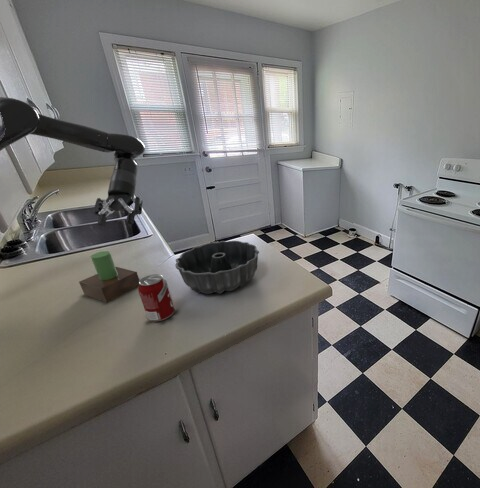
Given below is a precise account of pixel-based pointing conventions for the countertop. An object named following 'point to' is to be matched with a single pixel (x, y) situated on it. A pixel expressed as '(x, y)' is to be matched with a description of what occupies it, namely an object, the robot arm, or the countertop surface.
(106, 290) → the walnut block
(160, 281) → the soda can
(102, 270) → the green cylinder
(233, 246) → the bundt pan
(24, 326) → the countertop surface
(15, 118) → the robot arm
